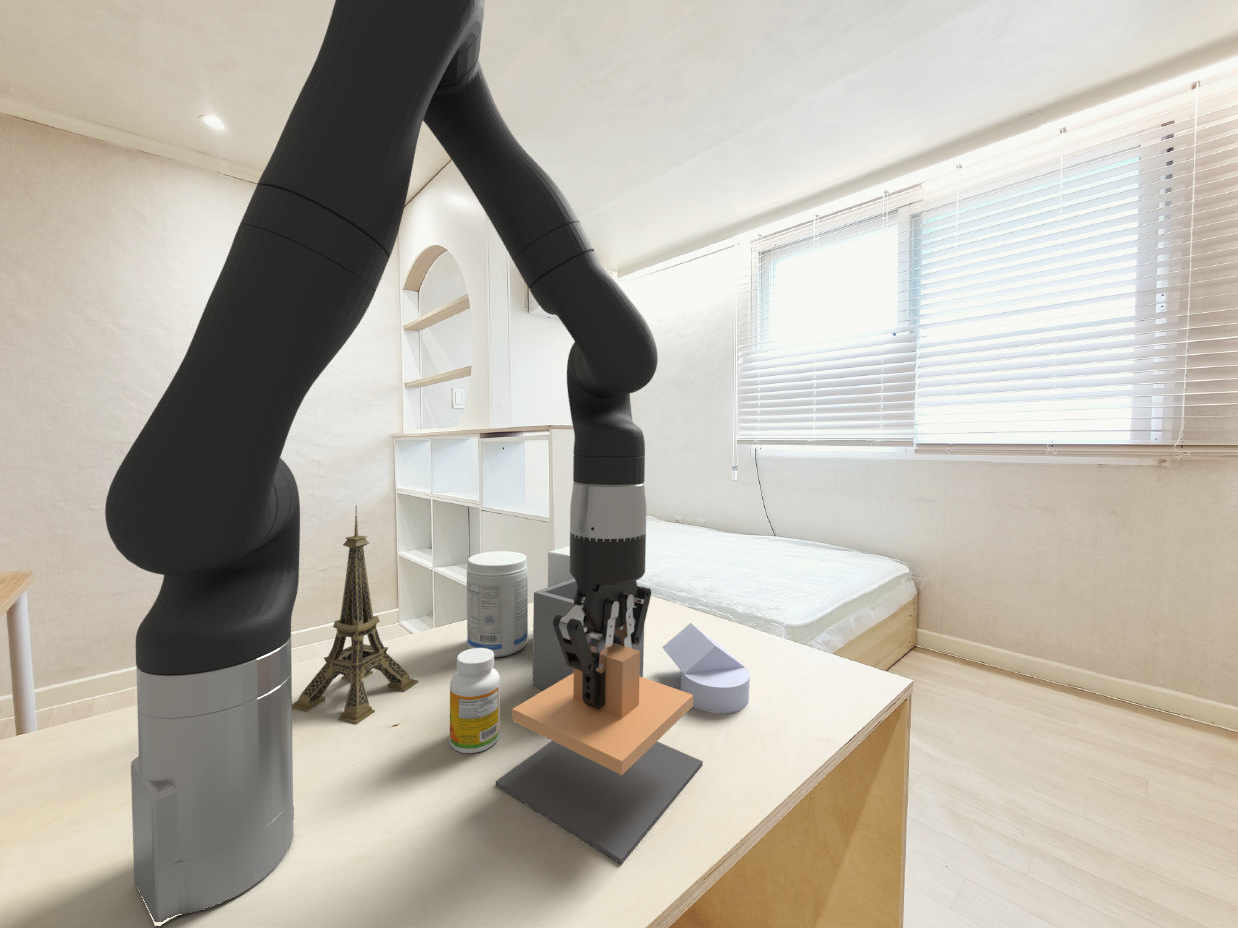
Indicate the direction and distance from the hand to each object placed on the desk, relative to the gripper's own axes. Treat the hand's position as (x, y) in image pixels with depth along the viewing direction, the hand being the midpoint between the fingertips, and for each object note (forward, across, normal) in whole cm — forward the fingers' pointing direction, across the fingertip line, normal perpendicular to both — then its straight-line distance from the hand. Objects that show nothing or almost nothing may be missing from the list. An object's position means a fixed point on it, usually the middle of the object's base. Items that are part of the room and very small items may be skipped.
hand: (605, 696), depth 49 cm
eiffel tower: (+8, -7, +35) cm, 37 cm away
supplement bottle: (+8, -4, +15) cm, 18 cm away
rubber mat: (+8, 0, 0) cm, 8 cm away
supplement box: (+8, +26, +24) cm, 36 cm away
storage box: (+8, +14, +13) cm, 21 cm away
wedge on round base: (+9, +23, -1) cm, 24 cm away
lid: (+3, 0, 0) cm, 3 cm away
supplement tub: (+8, +14, +32) cm, 36 cm away
